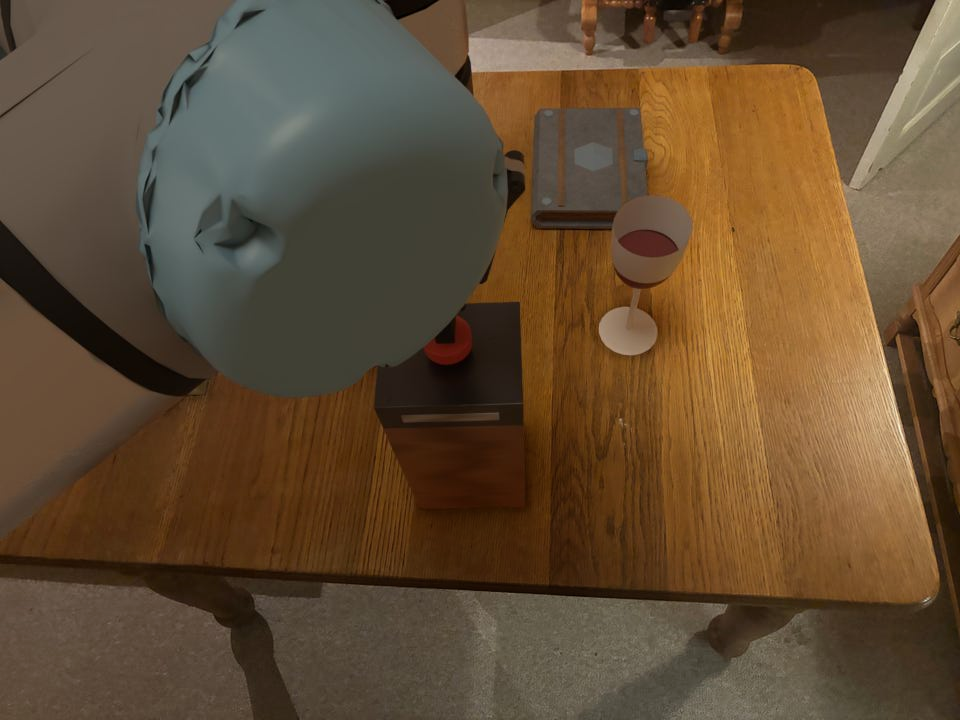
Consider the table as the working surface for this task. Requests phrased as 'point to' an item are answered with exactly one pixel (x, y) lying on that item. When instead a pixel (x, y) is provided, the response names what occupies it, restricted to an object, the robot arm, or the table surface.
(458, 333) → the timer button
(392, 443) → the red button pedestal
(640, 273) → the wineglass
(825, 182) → the table surface
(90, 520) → the table surface
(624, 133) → the book
